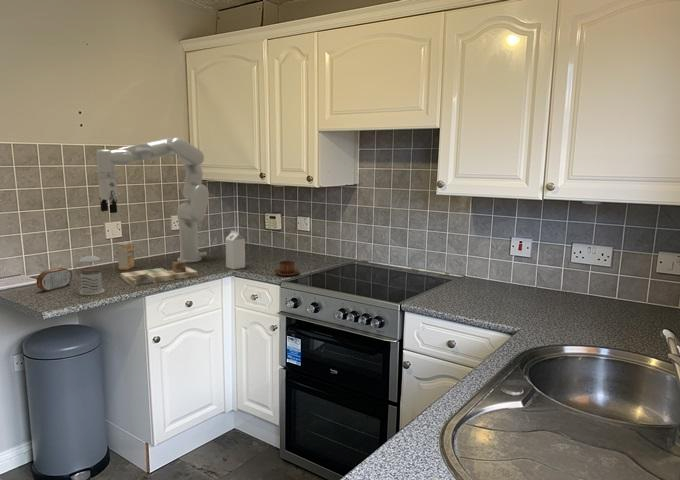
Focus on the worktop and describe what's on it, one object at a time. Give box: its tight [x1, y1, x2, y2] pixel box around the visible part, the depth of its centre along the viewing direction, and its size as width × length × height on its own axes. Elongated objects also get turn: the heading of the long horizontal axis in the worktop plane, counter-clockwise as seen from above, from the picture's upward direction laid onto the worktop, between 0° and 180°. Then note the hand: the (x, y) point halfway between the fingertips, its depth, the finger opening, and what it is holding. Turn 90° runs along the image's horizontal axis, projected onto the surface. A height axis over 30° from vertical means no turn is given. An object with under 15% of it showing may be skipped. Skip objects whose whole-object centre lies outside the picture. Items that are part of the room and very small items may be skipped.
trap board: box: [119, 266, 198, 287], centre depth 235 cm, size 30×17×2 cm, turn 130°
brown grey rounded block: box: [36, 267, 73, 292], centre depth 213 cm, size 15×3×8 cm, turn 157°
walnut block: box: [171, 261, 187, 273], centre depth 236 cm, size 4×4×4 cm
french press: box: [72, 232, 106, 296], centre depth 207 cm, size 10×12×25 cm
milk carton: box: [225, 230, 246, 270], centre depth 257 cm, size 7×7×19 cm
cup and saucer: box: [274, 260, 300, 277], centre depth 245 cm, size 12×12×6 cm
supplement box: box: [117, 241, 135, 271], centre depth 252 cm, size 8×5×13 cm, turn 179°
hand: (109, 211), depth 240 cm, fingers open, 9 cm apart
